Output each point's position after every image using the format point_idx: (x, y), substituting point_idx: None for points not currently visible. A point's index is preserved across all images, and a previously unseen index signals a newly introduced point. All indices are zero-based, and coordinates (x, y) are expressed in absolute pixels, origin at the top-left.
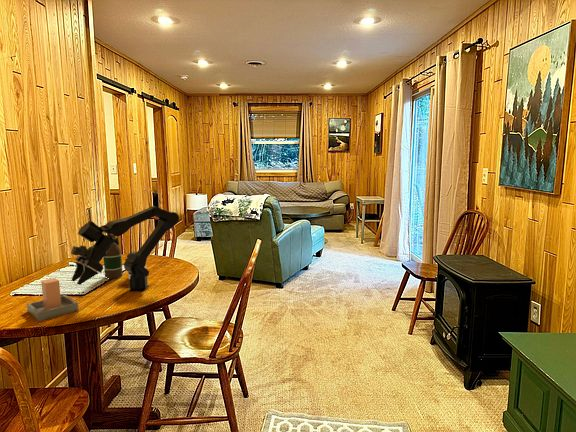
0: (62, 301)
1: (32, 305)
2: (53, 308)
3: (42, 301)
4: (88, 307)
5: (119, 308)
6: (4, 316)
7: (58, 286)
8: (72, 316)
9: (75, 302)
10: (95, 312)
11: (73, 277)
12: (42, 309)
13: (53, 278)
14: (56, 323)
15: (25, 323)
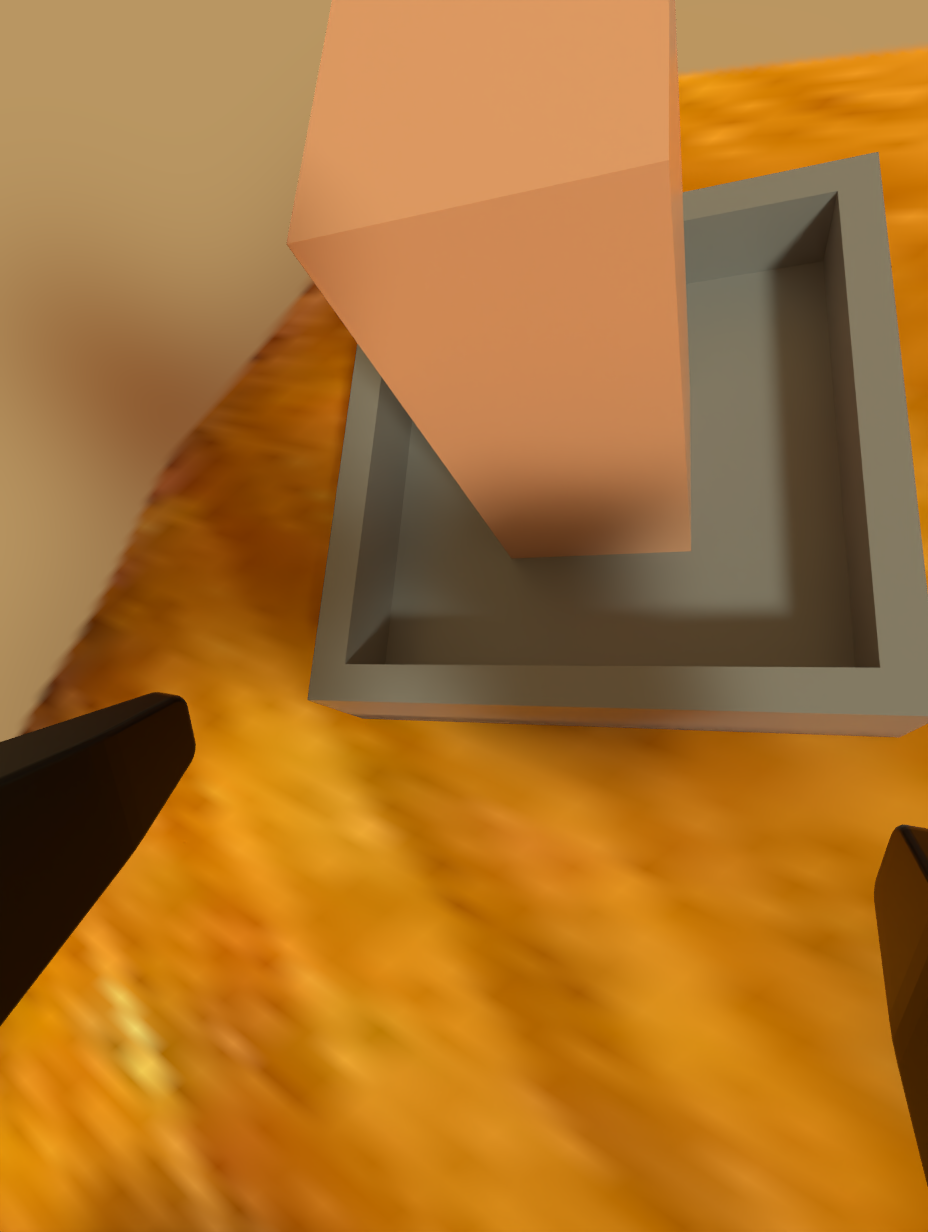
0: (854, 662)
1: (835, 242)
2: (371, 409)
3: (848, 343)
4: (369, 864)
5: (25, 1114)
6: (871, 52)
7: (367, 332)
8: (260, 604)
9: (356, 686)
10: (157, 834)
11: (925, 905)
12: (693, 373)
13: (647, 123)
14: (229, 443)
15: None
